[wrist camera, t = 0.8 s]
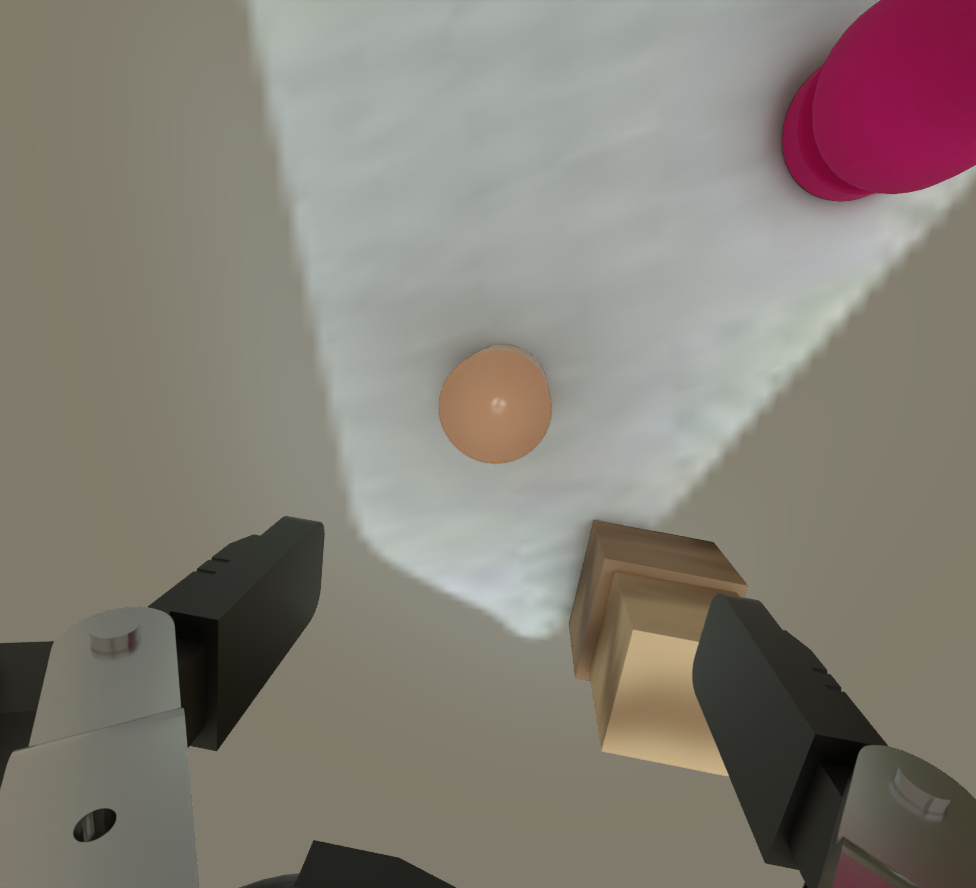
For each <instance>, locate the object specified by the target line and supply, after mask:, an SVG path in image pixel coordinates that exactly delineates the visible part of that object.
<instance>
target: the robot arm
mask: <svg viewBox="0 0 976 888" xmlns="http://www.w3.org/2000/svg"><path fill="white" fill-rule="evenodd" d="M323 548H324V526H323V524H322V523H321V522H317V521H312V520H306V519H300V518H295V517H289V516H284V517H283V518H281V519H280V520H279V521H278V522H276V523H275V524H274V525H273V526H272V527H270V528H269V529H268V530H267V531H266V532H264V533H263V534H262V535H261V536H259V535H251V536H248V537H246V538H243V539H241V540H238V541H236V542H233V543H230V544H229V545H227V546H226V547H225V548H223V549H222V550H221V551H219V552H218V553H217V554H216V555H214V556H213V557H212V559H211V560H208V561H206V562H205V563H204V564H202V565H201V566H200V567H199V568H198V569H197V571H196V572H192V573H191V574H190V575H188V576H187V577H186V578H185V579H183V580H182V581H180V582H179V583H178V584H177V585H175V586H174V587H173V588H171V589H170V590H169V591H168V592H166V593H165V594H164V595H162V596H161V597H160V598H158V599H157V600H156V601H155V602H153V603H152V604H151V605H149V606H148V607H125V608H118V609H113V610H108V611H104V612H100V613H97V614H94V615H92V616H89V617H87V618H84V619H82V620H80V621H78V622H76V623H75V624H73V625H71V626H70V627H68V628H67V629H66V630H65V631H63V632H62V633H61V634H60V635H59V636H58V637H57V639H56V640H55V641H51V642H22V643H0V888H199V876H198V865H197V853H196V841H195V830H194V818H193V806H192V795H191V783H190V771H189V759H188V747H189V746H193V747H198V748H203V749H208V750H213V751H217V750H218V749H219V748H220V746H221V745H222V743H223V742H224V741H225V739H226V738H227V736H228V735H229V734H230V732H231V731H232V729H233V728H234V727H235V725H236V724H237V722H238V721H239V720H240V718H241V717H242V715H243V714H244V713H245V711H246V710H247V709H248V707H249V706H250V704H251V703H252V701H253V700H254V699H255V697H256V696H257V695H258V693H259V692H260V690H261V689H262V688H263V686H264V685H265V684H266V682H267V681H268V679H269V678H270V676H271V675H272V674H273V672H274V671H275V669H276V668H277V667H278V665H279V664H280V663H281V661H282V660H283V658H284V657H285V656H286V654H287V653H288V652H289V650H290V649H291V647H292V646H293V645H294V643H295V642H296V640H297V639H298V638H299V636H300V635H301V633H302V632H303V631H304V629H305V628H306V626H307V625H308V624H309V622H310V621H311V619H312V617H313V615H314V613H315V610H316V608H317V604H318V601H319V596H320V590H321V577H322V562H323ZM692 681H693V688H694V692H695V695H696V698H697V700H698V702H699V705H700V707H701V710H702V712H703V715H704V717H705V719H706V722H707V724H708V727H709V729H710V731H711V734H712V736H713V739H714V741H715V743H716V746H717V748H718V751H719V753H720V756H721V758H722V760H723V763H724V765H725V768H726V770H727V772H728V775H729V777H730V779H731V782H732V785H733V787H734V789H735V792H736V794H737V797H738V799H739V801H740V803H741V806H742V809H743V811H744V813H745V816H746V818H747V821H748V823H749V825H750V828H751V830H752V833H753V835H754V838H755V840H756V843H757V845H758V847H759V850H760V852H761V855H762V857H763V859H764V862H765V863H767V864H772V865H777V866H782V867H787V868H792V869H797V870H800V873H801V875H802V877H803V879H804V881H805V883H804V885H803V887H802V888H976V799H975V798H974V797H973V796H972V795H971V794H970V793H969V792H968V791H967V790H966V789H965V788H964V787H962V786H961V785H960V784H959V783H958V782H957V781H955V780H954V779H953V778H951V777H950V776H949V775H947V774H946V773H944V772H943V771H941V770H940V769H938V768H937V767H935V766H934V765H932V764H930V763H928V762H926V761H925V760H923V759H921V758H919V757H917V756H915V755H913V754H910V753H908V752H905V751H903V750H899V749H897V748H893V747H889V746H888V745H887V744H886V743H885V741H884V740H883V739H882V738H881V736H880V735H879V734H878V733H877V731H876V730H875V729H874V728H873V726H872V725H871V724H870V723H869V722H868V720H867V719H866V718H865V716H864V715H863V714H862V713H861V712H860V710H859V709H858V708H857V707H856V705H855V704H854V703H853V702H852V700H851V699H850V698H849V697H848V695H847V694H846V693H845V692H841V687H840V686H839V684H838V683H837V682H836V680H835V679H834V678H833V677H832V676H831V675H830V674H827V669H826V668H825V667H824V666H823V664H822V663H821V662H820V661H819V659H818V658H817V657H816V656H815V655H814V653H813V652H812V651H811V650H810V649H809V648H808V647H806V646H805V645H804V644H803V643H801V642H800V641H799V640H797V639H796V638H795V637H793V636H792V635H791V634H790V633H788V632H787V631H785V630H782V629H781V627H780V626H779V625H778V624H777V622H776V621H775V620H774V618H773V617H772V616H771V614H770V613H769V612H768V610H767V609H766V608H765V607H764V605H763V604H762V603H761V602H760V601H758V600H754V599H748V598H743V597H737V596H732V595H726V594H717V595H715V596H714V598H713V599H712V601H711V604H710V607H709V610H708V614H707V617H706V620H705V624H704V627H703V630H702V634H701V637H700V640H699V644H698V647H697V651H696V654H695V657H694V661H693V668H692ZM239 888H456V887H454V886H452V885H450V884H448V883H446V882H444V881H443V880H441V879H439V878H437V877H435V876H433V875H431V874H429V873H427V872H425V871H423V870H421V869H420V868H418V867H416V866H414V865H412V864H410V863H408V862H406V861H404V860H402V859H400V858H397V857H393V856H388V855H383V854H378V853H373V852H368V851H364V850H358V849H354V848H349V847H344V846H340V845H334V844H330V843H325V842H320V841H315V840H314V841H313V843H312V845H311V848H310V850H309V853H308V855H307V857H306V860H305V862H304V864H303V867H302V869H301V872H300V873H299V874H288V875H282V876H278V877H273V878H268V879H263V880H260V881H257V882H254V883H252V884H248V885H246V886H242V887H239Z"/></svg>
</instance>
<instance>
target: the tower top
mask: <svg viewBox="0 0 976 888" xmlns="http://www.w3.org/2000/svg"><path fill="white" fill-rule="evenodd" d="M717 594H726V595H732V596H737V597H740V596H739V595H738V593H737V592H731V591H726V590H720V589H715V588H709V587H704V586H698V585H693V584H687V583H682V582H676V581H671V580H665V579H660V578H654V577H649V576H643V575H638V574H632V573H627V572H621V571H616V570H614V573H613V577H612V581H611V586H610V590H609V594H608V598H607V602H606V606H605V611H604V615H603V619H602V623H601V627H600V631H599V635H598V640H597V644H596V648H595V652H594V656H593V660H592V664H591V669H590V673H589V674H590V681H591V687H592V693H593V700H594V706H595V713H596V719H597V725H598V732H599V738H600V745H601V750H602V751H603V752H608V753H613V754H618V755H623V756H629V757H633V758H638V759H644V760H648V761H653V762H658V763H663V764H669V765H674V766H679V767H684V768H689V769H694V770H699V771H704V772H709V773H714V774H719V775H724V776H729V775H728V772H727V770H726V768H725V765H724V763H723V760H722V758H721V756H720V753H719V751H718V748H717V746H716V743H715V741H714V739H713V736H712V734H711V731H710V729H709V727H708V724H707V722H706V719H705V717H704V715H703V712H702V710H701V707H700V705H699V702H698V700H697V698H696V695H695V692H694V688H693V681H692V668H693V661H694V657H695V654H696V651H697V647H698V644H699V640H700V637H701V634H702V630H703V627H704V624H705V620H706V617H707V614H708V610H709V607H710V604H711V601H712V599H713V598H714V596H715V595H717Z"/></svg>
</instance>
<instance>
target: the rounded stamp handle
mask: <svg viewBox="0 0 976 888" xmlns="http://www.w3.org/2000/svg"><path fill="white" fill-rule="evenodd" d="M439 416H440V421H441V424H442V427H443V429H444V431H445V434H446V435H447V437H448V438H449V440H450V441H451V442H452V444H453V445H454V446H455V447H456V448H457V449H458V450H459V451H461V452H462V453H463V454H465V455H467V456H468V457H470V458H472V459H475V460H477V461H481V462H485V463H492V464H498V463H507V462H511V461H514V460H517V459H519V458H521V457H523V456H525V455H527V454H528V453H529V452H531V451H532V450H533V449H534V448H535V447H536V446H537V445H538V444H539V443H540V441H541V440H542V439H543V437H544V435H545V434H546V431H547V429H548V427H549V423H550V419H551V398H550V393H549V388H548V383H547V379H546V375H545V373H544V370H543V368H542V367H541V365H540V364H539V362H538V361H537V360H536V359H535V358H534V357H533V356H532V355H531V354H530V353H528V352H527V351H525V350H523V349H521V348H519V347H516V346H512V345H505V344H501V345H493V346H489V347H486V348H484V349H482V350H480V351H478V352H477V353H475V354H474V355H472V356H471V357H469V358H468V359H466V360H465V361H463V362H462V363H460V364H459V365H458V366H457V367H456V368H455V369H454V370H453V371H452V372H451V373H450V375H449V376H448V378H447V379H446V381H445V383H444V385H443V388H442V390H441V394H440V399H439Z"/></svg>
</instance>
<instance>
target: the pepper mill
mask: <svg viewBox="0 0 976 888" xmlns="http://www.w3.org/2000/svg"><path fill="white" fill-rule="evenodd" d="M782 142H783V153H784V157H785V160H786V164H787V166H788V168H789V170H790V172H791V174H792V176H793V177H794V178H795V180H796V181H797V182H798V183H799V184H800V185H801V186H802V187H803V188H804V189H806V190H807V191H808V192H810V193H811V194H813V195H815V196H817V197H820V198H823V199H827V200H832V201H850V200H855V199H860V198H863V197H866V196H868V195H871V194H874V193H883V194H899V193H908V192H913V191H917V190H922V189H925V188H927V187H930V186H933V185H935V184H938V183H940V182H943V181H945V180H947V179H949V178H952V177H954V176H956V175H958V174H960V173H962V172H964V171H966V170H967V169H969V168H971V167H973V166H975V165H976V0H880V1H879V2H877V3H876V4H875V5H873V6H872V7H871V8H870V9H868V10H867V11H866V12H865V13H863V14H862V15H861V16H860V17H859V18H858V19H857V20H856V21H855V22H854V23H853V24H852V25H851V26H850V27H849V28H848V29H847V30H846V32H845V33H844V34H843V35H842V37H841V38H840V39H839V41H838V42H837V44H836V45H835V46H834V48H833V49H832V51H831V53H830V55H829V56H828V58H827V60H826V62H825V64H824V65H823V66H822V67H820V68H819V69H818V70H817V71H816V72H815V73H813V74H812V75H811V76H810V77H809V78H808V79H807V81H806V82H805V83H804V84H803V85H802V86H801V88H800V89H799V91H798V92H797V94H796V95H795V97H794V99H793V101H792V103H791V105H790V107H789V109H788V112H787V115H786V118H785V123H784V127H783V138H782Z"/></svg>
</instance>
